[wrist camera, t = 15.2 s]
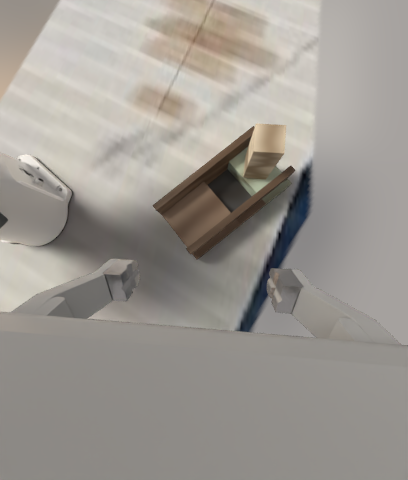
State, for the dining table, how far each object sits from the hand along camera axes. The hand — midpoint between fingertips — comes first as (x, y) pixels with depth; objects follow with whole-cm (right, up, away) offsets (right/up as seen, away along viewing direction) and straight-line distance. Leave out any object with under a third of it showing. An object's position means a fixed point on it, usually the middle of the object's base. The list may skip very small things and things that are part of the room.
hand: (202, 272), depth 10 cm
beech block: (+10, +17, +22) cm, 29 cm away
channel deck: (+4, +11, +24) cm, 27 cm away
